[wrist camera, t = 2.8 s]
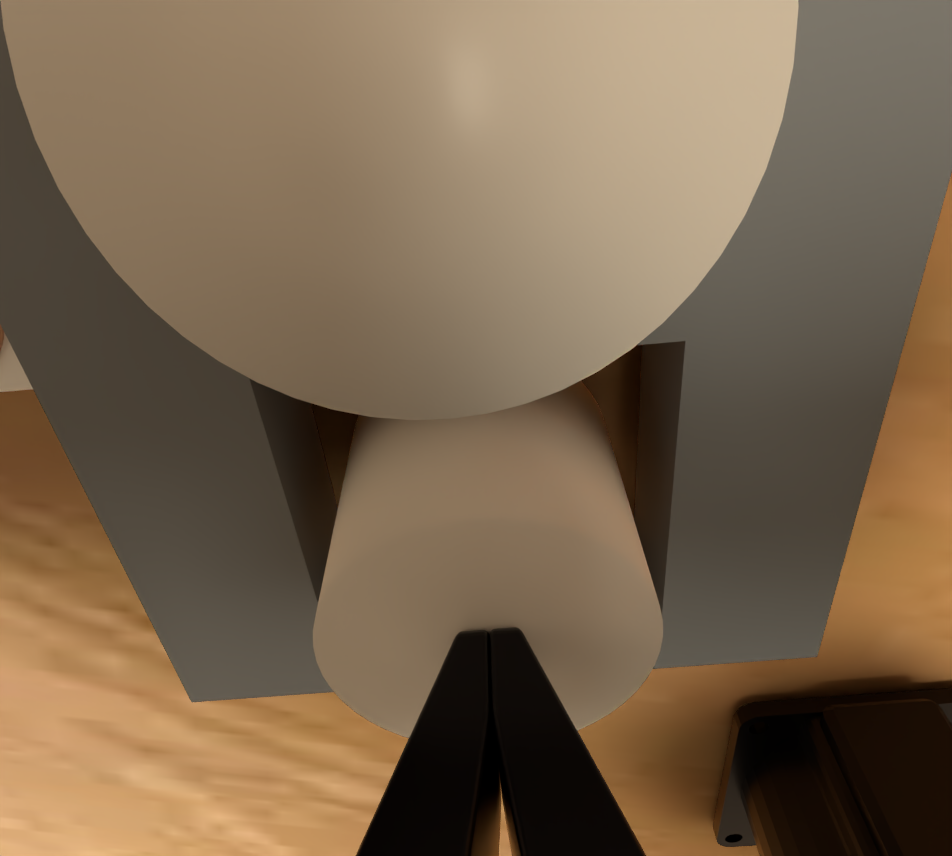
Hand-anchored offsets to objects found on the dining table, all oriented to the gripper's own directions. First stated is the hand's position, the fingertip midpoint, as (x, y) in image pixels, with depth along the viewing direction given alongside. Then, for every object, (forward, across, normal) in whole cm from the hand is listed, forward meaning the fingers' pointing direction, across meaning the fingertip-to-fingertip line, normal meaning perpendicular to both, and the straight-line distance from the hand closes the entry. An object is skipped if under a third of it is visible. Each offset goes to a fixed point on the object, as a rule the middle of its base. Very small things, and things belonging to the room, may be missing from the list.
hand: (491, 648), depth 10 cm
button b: (+3, 0, -7) cm, 8 cm away
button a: (+4, 0, 0) cm, 4 cm away
